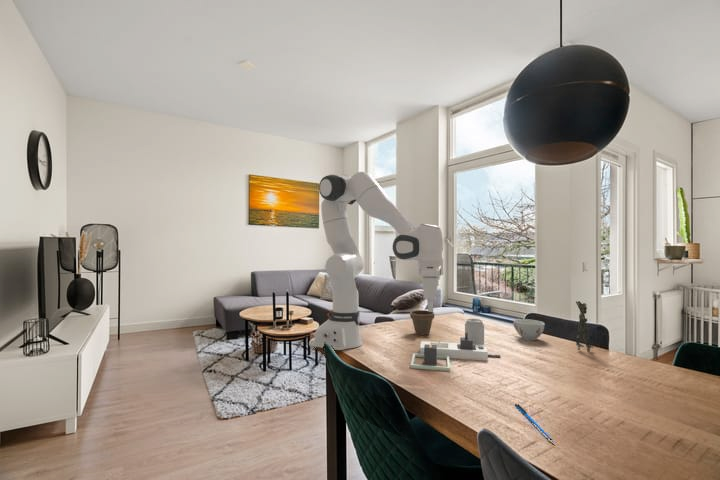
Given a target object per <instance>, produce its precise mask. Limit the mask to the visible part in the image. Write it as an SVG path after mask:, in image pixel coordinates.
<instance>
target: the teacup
mask: <svg viewBox="0 0 720 480" xmlns="http://www.w3.org/2000/svg"><path fill="white" fill-rule="evenodd" d="M512 324H513V328H514V329H515V331H516V333H517V334H518V336H520V337H521V338H522V339H523V340H525V341H537V339H538V338H540V337H541V335H542V334H543V333H544V330H545V325H546V324H545V322H544V321H541V320H536V319H528V318H524V319H522V318H517V319H515V320H513V323H512Z"/></svg>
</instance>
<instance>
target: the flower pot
mask: <svg viewBox="0 0 720 480" xmlns="http://www.w3.org/2000/svg"><path fill="white" fill-rule="evenodd" d="M409 317H410V319H411V320H412V324H413V328H414V331H415V334H417V335H420V336H425V335H426V336H427V335H430V333H431V328H432V323H433V319H435V312H434V311H433V312H429V311H428V310H426V309H423V310H422V309H421V310H420V309H418V310H413V311H410V312H409Z"/></svg>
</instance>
